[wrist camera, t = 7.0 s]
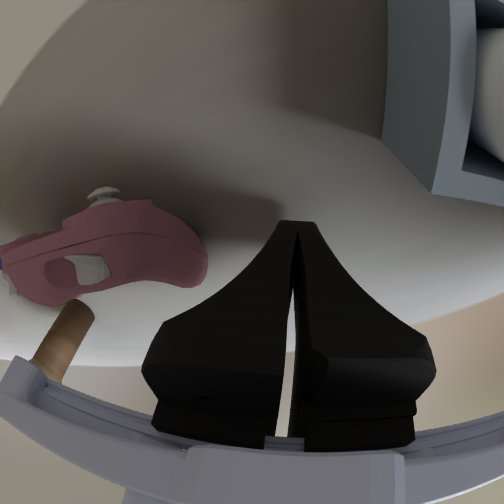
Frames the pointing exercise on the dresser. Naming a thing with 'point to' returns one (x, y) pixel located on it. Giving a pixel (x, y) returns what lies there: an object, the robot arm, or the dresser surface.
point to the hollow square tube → (439, 95)
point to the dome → (489, 92)
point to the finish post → (63, 340)
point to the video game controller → (104, 252)
